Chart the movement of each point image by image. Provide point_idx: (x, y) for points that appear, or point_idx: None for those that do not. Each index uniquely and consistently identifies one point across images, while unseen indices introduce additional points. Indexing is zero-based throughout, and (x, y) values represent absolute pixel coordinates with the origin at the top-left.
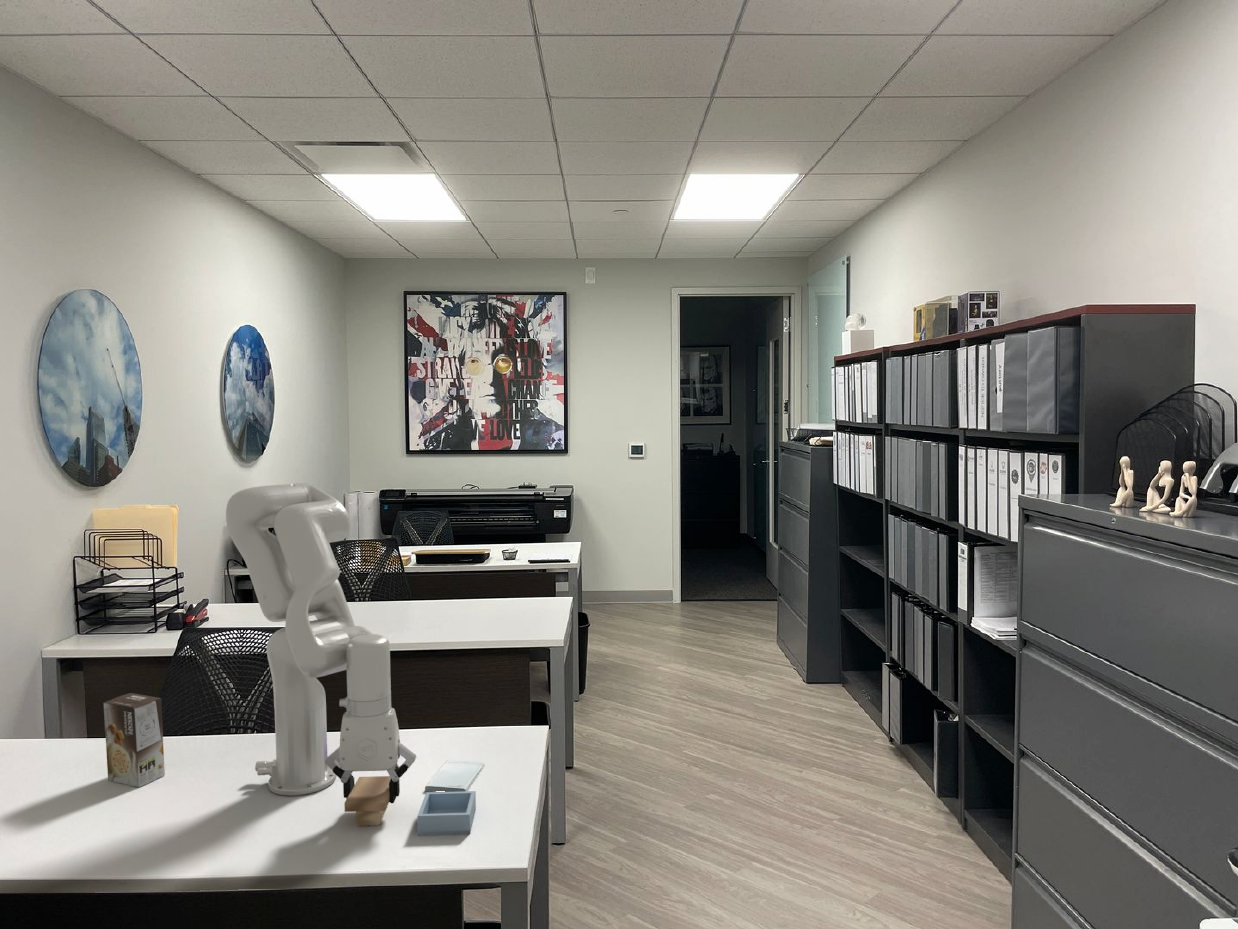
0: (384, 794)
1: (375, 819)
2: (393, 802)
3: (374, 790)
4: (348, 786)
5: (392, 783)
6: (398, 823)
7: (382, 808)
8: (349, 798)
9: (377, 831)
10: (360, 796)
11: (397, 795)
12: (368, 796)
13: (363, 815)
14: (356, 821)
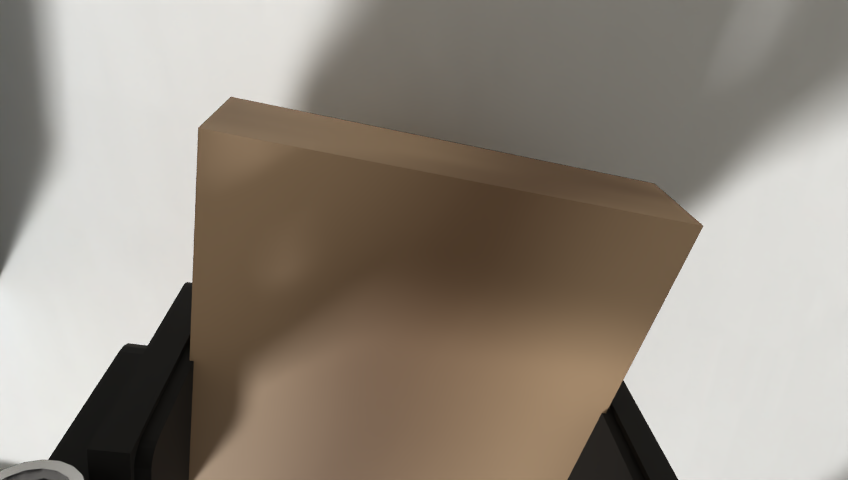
0: (240, 327)
1: None
2: (185, 290)
3: (363, 424)
4: (652, 475)
5: (96, 438)
6: (182, 149)
7: (255, 114)
8: (630, 316)
9: (340, 57)
10: (510, 335)
11: (130, 347)
12: (423, 318)
13: None
14: None
